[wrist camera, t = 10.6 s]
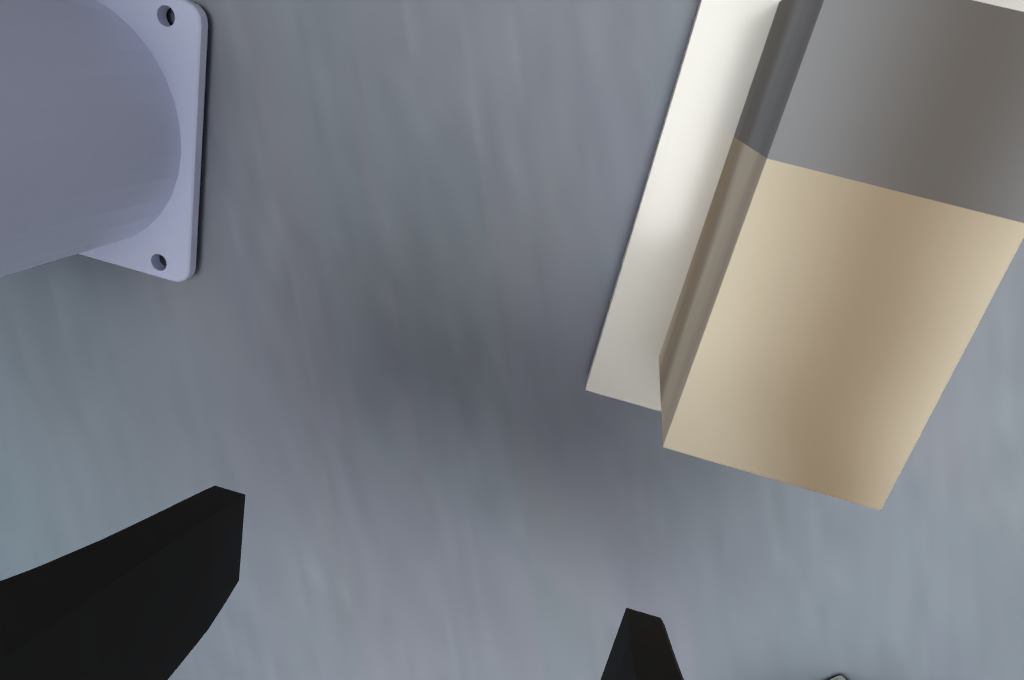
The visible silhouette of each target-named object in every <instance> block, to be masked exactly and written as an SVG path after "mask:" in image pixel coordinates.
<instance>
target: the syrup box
mask: <svg viewBox="0 0 1024 680" xmlns="http://www.w3.org/2000/svg"><path fill="white" fill-rule="evenodd" d="M830 680H846V679H845V678H844V677H843V676H836V677H834V678H832V679H830Z"/></svg>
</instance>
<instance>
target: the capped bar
mask: <svg viewBox="0 0 1024 680" xmlns="http://www.w3.org/2000/svg"><path fill="white" fill-rule="evenodd" d="M1023 238H1024V12H1022V11H1018V10H1013V9H1009V8H1005V7H1000V6H996V5H991V4H987V3H983V2H978V1H974V0H781V1H780V2H779V4H778V7H777V10H776V13H775V16H774V19H773V22H772V25H771V28H770V31H769V34H768V37H767V40H766V42H765V45H764V48H763V51H762V54H761V57H760V60H759V63H758V66H757V69H756V72H755V75H754V78H753V81H752V84H751V87H750V90H749V93H748V96H747V99H746V102H745V105H744V107H743V110H742V113H741V116H740V119H739V122H738V125H737V128H736V131H735V134H734V137H733V140H732V143H731V146H730V149H729V152H728V155H727V158H726V161H725V164H724V167H723V169H722V172H721V175H720V178H719V181H718V184H717V187H716V190H715V193H714V196H713V199H712V202H711V205H710V208H709V211H708V214H707V217H706V220H705V223H704V226H703V229H702V232H701V234H700V237H699V240H698V243H697V246H696V249H695V252H694V255H693V258H692V261H691V264H690V267H689V270H688V273H687V276H686V279H685V282H684V285H683V288H682V291H681V294H680V296H679V299H678V302H677V305H676V308H675V311H674V314H673V317H672V320H671V323H670V326H669V329H668V332H667V335H666V338H665V341H664V344H663V347H662V350H661V353H660V356H659V377H660V399H661V421H662V443H663V447H664V448H667V449H671V450H674V451H677V452H681V453H684V454H688V455H691V456H695V457H698V458H702V459H705V460H708V461H712V462H715V463H719V464H722V465H726V466H729V467H733V468H736V469H739V470H743V471H746V472H750V473H753V474H757V475H760V476H764V477H767V478H770V479H774V480H777V481H781V482H784V483H788V484H791V485H795V486H798V487H801V488H805V489H808V490H812V491H815V492H819V493H822V494H826V495H829V496H832V497H836V498H839V499H843V500H846V501H850V502H853V503H857V504H860V505H863V506H867V507H870V508H874V509H877V510H881V508H882V507H883V505H884V503H885V501H886V499H887V497H888V495H889V493H890V491H891V489H892V488H893V486H894V484H895V482H896V480H897V478H898V476H899V474H900V472H901V470H902V468H903V467H904V465H905V463H906V461H907V459H908V457H909V455H910V453H911V451H912V449H913V447H914V446H915V444H916V442H917V440H918V438H919V436H920V434H921V432H922V430H923V428H924V426H925V425H926V423H927V421H928V419H929V417H930V415H931V413H932V411H933V409H934V407H935V406H936V404H937V402H938V400H939V398H940V396H941V394H942V392H943V390H944V388H945V386H946V385H947V383H948V381H949V379H950V377H951V375H952V373H953V371H954V369H955V367H956V365H957V364H958V362H959V360H960V358H961V356H962V354H963V352H964V350H965V348H966V346H967V345H968V343H969V341H970V339H971V337H972V335H973V333H974V331H975V329H976V327H977V325H978V324H979V322H980V320H981V318H982V316H983V314H984V312H985V310H986V308H987V306H988V304H989V303H990V301H991V299H992V297H993V295H994V293H995V291H996V289H997V287H998V285H999V283H1000V282H1001V280H1002V278H1003V276H1004V274H1005V272H1006V270H1007V268H1008V266H1009V264H1010V263H1011V261H1012V259H1013V257H1014V255H1015V253H1016V251H1017V249H1018V247H1019V245H1020V243H1021V242H1022V240H1023Z"/></svg>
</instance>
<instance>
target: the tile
mask: <svg viewBox="0 0 1024 680" xmlns="http://www.w3.org/2000/svg"><path fill="white" fill-rule="evenodd" d="M780 1H781V0H700V2H699V5H698V9H697V12H696V16H695V19H694V22H693V26H692V29H691V32H690V36H689V39H688V42H687V46H686V49H685V52H684V56H683V59H682V62H681V66H680V69H679V73H678V76H677V79H676V83H675V86H674V89H673V93H672V96H671V99H670V103H669V106H668V109H667V113H666V116H665V119H664V123H663V126H662V130H661V133H660V136H659V140H658V143H657V146H656V150H655V153H654V156H653V160H652V163H651V166H650V170H649V173H648V176H647V180H646V183H645V187H644V190H643V193H642V197H641V200H640V203H639V207H638V210H637V213H636V217H635V220H634V223H633V227H632V230H631V233H630V237H629V240H628V244H627V247H626V250H625V254H624V257H623V260H622V264H621V267H620V270H619V274H618V277H617V280H616V284H615V287H614V290H613V294H612V297H611V301H610V304H609V307H608V311H607V314H606V317H605V321H604V324H603V327H602V331H601V334H600V337H599V341H598V344H597V347H596V351H595V354H594V358H593V361H592V364H591V368H590V371H589V374H588V378H587V384H586V389H585V390H587V391H591V392H594V393H598V394H601V395H605V396H608V397H612V398H615V399H618V400H622V401H625V402H629V403H632V404H636V405H639V406H643V407H646V408H650V409H653V410H657V411H660V412H661V399H660V377H659V356H660V353H661V350H662V347H663V344H664V341H665V338H666V335H667V332H668V329H669V326H670V323H671V320H672V317H673V314H674V311H675V308H676V305H677V302H678V299H679V296H680V294H681V291H682V288H683V285H684V282H685V279H686V276H687V273H688V270H689V267H690V264H691V261H692V258H693V255H694V252H695V249H696V246H697V243H698V240H699V237H700V234H701V232H702V229H703V226H704V223H705V220H706V217H707V214H708V211H709V208H710V205H711V202H712V199H713V196H714V193H715V190H716V187H717V184H718V181H719V178H720V175H721V172H722V169H723V167H724V164H725V161H726V158H727V155H728V152H729V149H730V146H731V143H732V140H733V137H734V134H735V131H736V128H737V125H738V122H739V119H740V116H741V113H742V110H743V107H744V105H745V102H746V99H747V96H748V93H749V90H750V87H751V84H752V81H753V78H754V75H755V72H756V69H757V66H758V63H759V60H760V57H761V54H762V51H763V48H764V45H765V42H766V40H767V37H768V34H769V31H770V28H771V25H772V22H773V19H774V16H775V13H776V10H777V7H778V4H779V2H780ZM974 1H978V2H983V3H987V4H991V5H996V6H1000V7H1005V8H1009V9H1013V10H1018V11H1022V12H1024V0H974Z"/></svg>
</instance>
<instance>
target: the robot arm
mask: <svg viewBox="0 0 1024 680" xmlns="http://www.w3.org/2000/svg"><path fill="white" fill-rule="evenodd" d="M169 8H171V9H172V10H173V12H174V15H175V21H174V24H173V25H170V24H169V22H168V21H167V17H166V14H167V10H168V9H169ZM207 36H208V21H207V16H206V14H205V12H204V10H203V9H202V8H201V7H200V6H199V5H198V4H196V3H194V2H192V1H188V0H0V277H3V276H7V275H10V274H13V273H16V272H20V271H23V270H26V269H29V268H33V267H36V266H39V265H42V264H46V263H49V262H52V261H55V260H59V259H62V258H65V257H69V256H72V255H75V254H80V255H84V256H87V257H91V258H94V259H98V260H101V261H105V262H108V263H112V264H115V265H119V266H122V267H126V268H129V269H133V270H136V271H140V272H143V273H147V274H150V275H154V276H157V277H160V278H164V279H167V280H171V281H175V282H181V281H184V280H186V279H189V278H191V277H192V276H193V274H194V273H195V269H196V253H197V234H198V214H199V194H200V174H201V155H202V135H203V115H204V95H205V76H206V56H207ZM160 255H162V256H163V257H164V258H165V260H166V263H167V266H166V267H165V266H164V265H162V263H161V262H160V259H159V256H160ZM244 504H245V494H241V493H238V492H234V491H231V490H228V489H224V488H221V487H218V486H213V487H211V488H209V489H206V490H204V491H202V492H200V493H198V494H196V495H194V496H192V497H190V498H187V499H185V500H183V501H181V502H179V503H177V504H175V505H173V506H171V507H169V508H167V509H165V510H163V511H161V512H159V513H157V514H155V515H153V516H151V517H149V518H147V519H145V520H142V521H140V522H138V523H136V524H134V525H132V526H130V527H128V528H126V529H123V530H121V531H119V532H117V533H115V534H113V535H111V536H109V537H107V538H104V539H102V540H100V541H98V542H95V543H93V544H91V545H88V546H86V547H84V548H81V549H79V550H77V551H74V552H72V553H70V554H67V555H65V556H63V557H60V558H58V559H56V560H53V561H51V562H49V563H46V564H44V565H42V566H39V567H36V568H34V569H31V570H29V571H26V572H24V573H21V574H18V575H16V576H13V577H10V578H8V579H5V580H2V581H0V680H168V678H169V677H170V676H171V675H172V674H173V672H174V671H175V670H176V669H177V667H178V666H179V665H180V664H181V663H182V661H183V660H184V659H185V658H186V656H187V655H188V654H189V653H190V651H191V650H192V649H193V648H194V646H195V645H196V644H197V643H198V641H199V640H200V639H201V638H202V636H203V635H204V634H205V633H206V631H207V630H208V629H209V627H210V626H211V624H212V622H213V621H214V619H215V618H216V616H217V615H218V613H219V612H220V610H221V609H222V607H223V605H224V604H225V602H226V601H227V599H228V597H229V596H230V594H231V592H232V591H233V589H234V588H235V586H236V584H237V583H238V581H239V571H240V558H241V545H242V531H243V518H244ZM601 680H684V679H683V677H682V674H681V671H680V669H679V666H678V663H677V660H676V658H675V655H674V652H673V649H672V646H671V643H670V640H669V637H668V634H667V631H666V628H665V625H664V623H663V621H662V620H661V618H659V617H656V616H652V615H649V614H645V613H642V612H639V611H635V610H632V609H629V608H626V610H625V613H624V616H623V619H622V622H621V624H620V627H619V630H618V633H617V636H616V638H615V641H614V644H613V647H612V650H611V652H610V655H609V658H608V661H607V664H606V666H605V669H604V672H603V675H602V678H601Z"/></svg>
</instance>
